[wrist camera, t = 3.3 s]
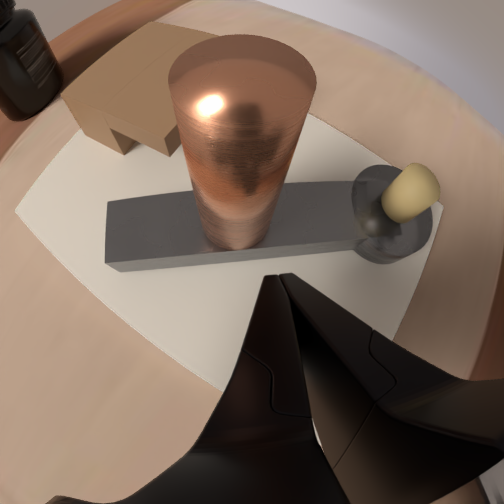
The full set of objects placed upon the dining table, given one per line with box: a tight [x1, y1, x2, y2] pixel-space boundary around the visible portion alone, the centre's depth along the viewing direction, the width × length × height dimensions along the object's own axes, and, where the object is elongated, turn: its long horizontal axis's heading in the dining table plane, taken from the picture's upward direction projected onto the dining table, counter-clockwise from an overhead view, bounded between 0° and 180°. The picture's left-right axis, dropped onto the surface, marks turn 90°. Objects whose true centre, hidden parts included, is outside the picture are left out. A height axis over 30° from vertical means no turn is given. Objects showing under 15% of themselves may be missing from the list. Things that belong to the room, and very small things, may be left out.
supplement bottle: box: [0, 0, 63, 121], centre depth 13 cm, size 7×7×12 cm
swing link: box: [105, 35, 433, 272], centre depth 10 cm, size 16×5×10 cm, turn 97°
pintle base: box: [15, 21, 444, 446], centre depth 14 cm, size 24×16×6 cm
